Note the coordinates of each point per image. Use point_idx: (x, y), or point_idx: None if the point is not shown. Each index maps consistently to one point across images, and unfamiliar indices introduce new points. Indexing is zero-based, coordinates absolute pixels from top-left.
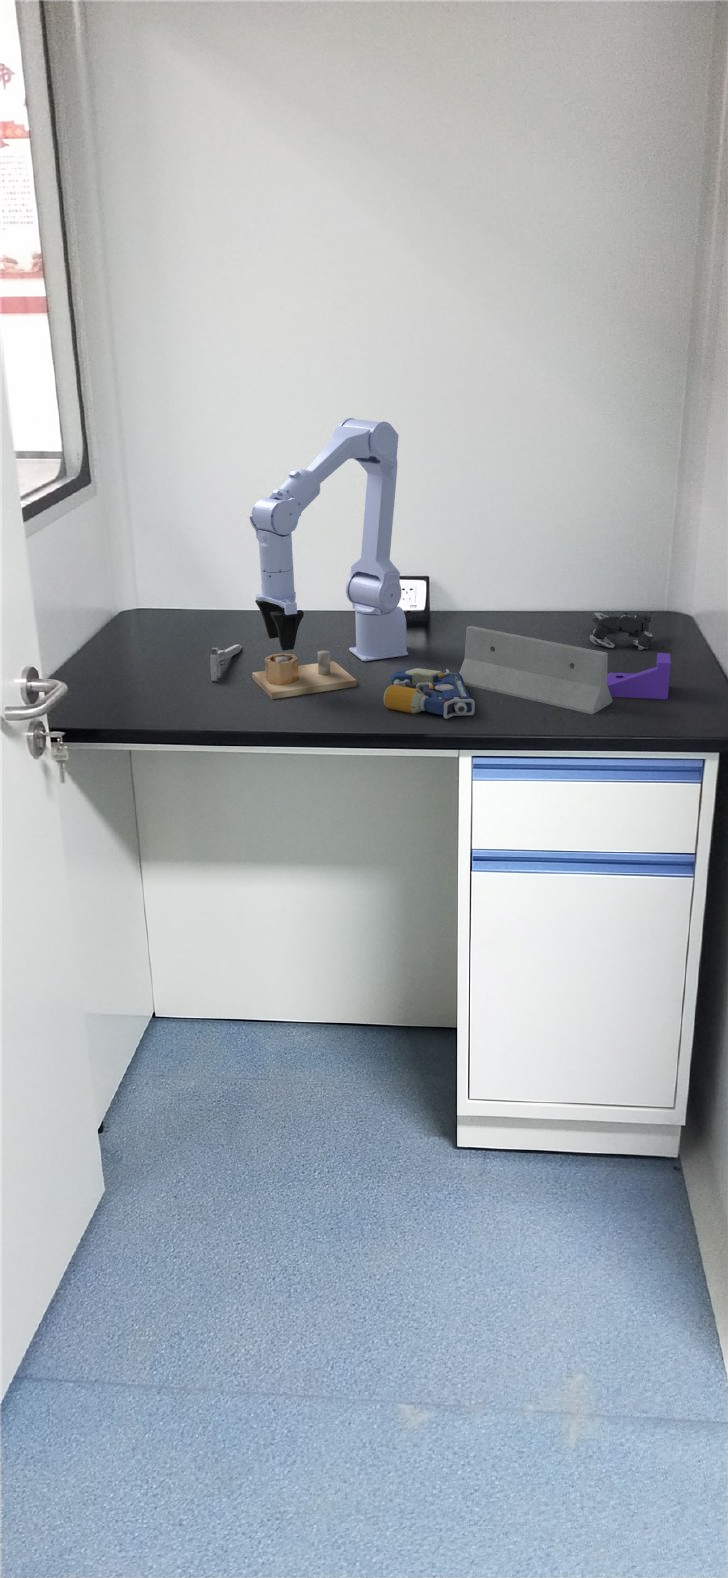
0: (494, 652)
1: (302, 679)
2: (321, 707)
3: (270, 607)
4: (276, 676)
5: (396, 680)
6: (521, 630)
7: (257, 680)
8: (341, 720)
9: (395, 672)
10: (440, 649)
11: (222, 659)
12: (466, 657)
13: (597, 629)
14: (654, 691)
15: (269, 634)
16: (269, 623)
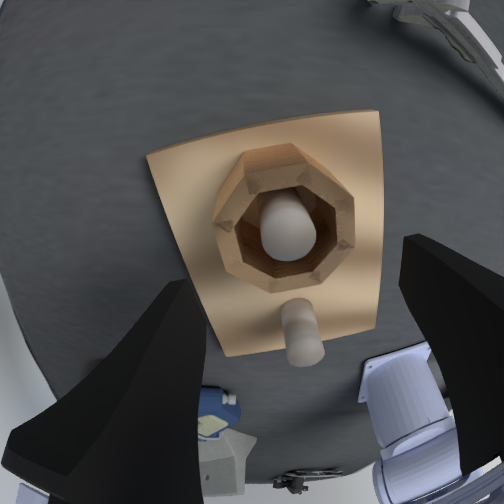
0: (204, 474)
1: None
2: (95, 270)
3: (500, 391)
4: (225, 186)
5: None
6: (368, 446)
7: (315, 115)
8: (43, 293)
9: (216, 408)
10: (359, 418)
11: (463, 45)
12: (232, 457)
13: (295, 482)
14: None
15: (415, 247)
16: (451, 293)
